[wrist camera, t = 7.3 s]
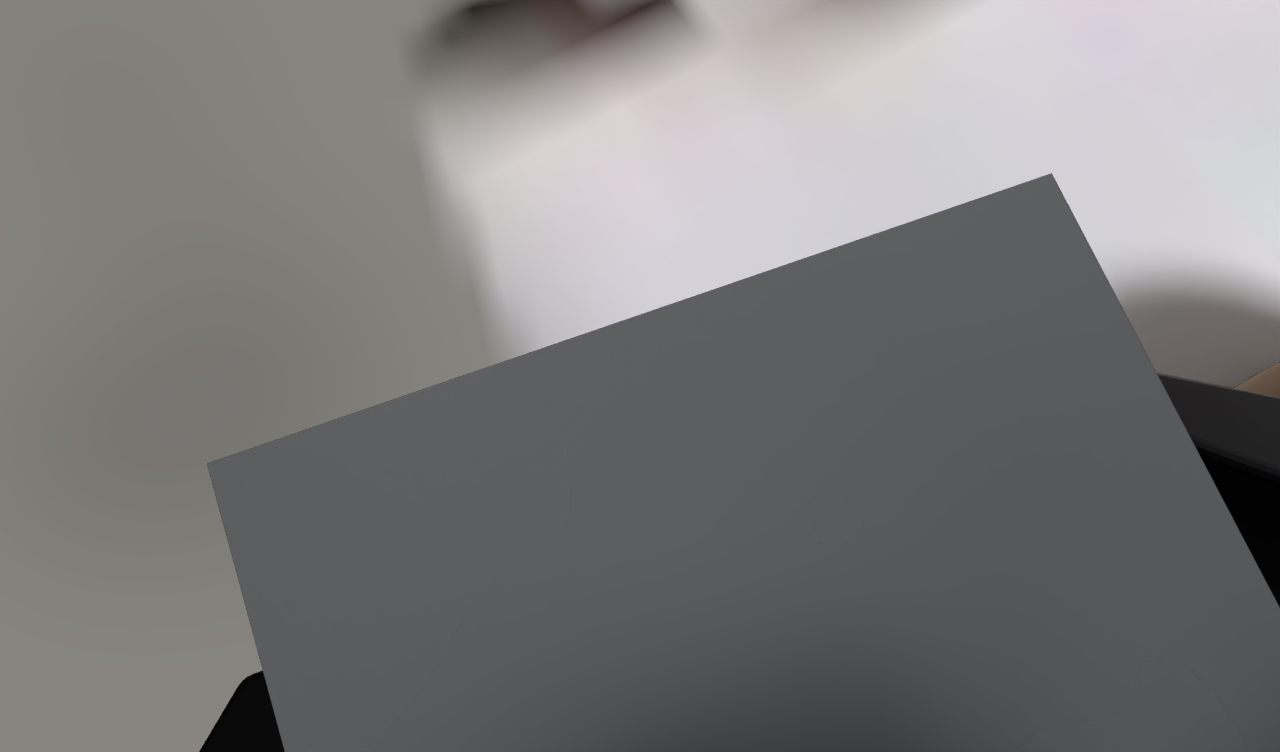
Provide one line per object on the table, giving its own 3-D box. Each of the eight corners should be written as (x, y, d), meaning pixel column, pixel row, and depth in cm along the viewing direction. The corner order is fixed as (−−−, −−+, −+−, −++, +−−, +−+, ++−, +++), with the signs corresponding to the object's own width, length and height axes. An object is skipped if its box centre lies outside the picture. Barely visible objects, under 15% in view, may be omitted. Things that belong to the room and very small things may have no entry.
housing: (971, 873, 12) (1530, 1086, 5) (576, 1041, 12) (507, 1576, 4) (809, 487, 14) (1053, 173, 6) (443, 623, 13) (206, 464, 6)
